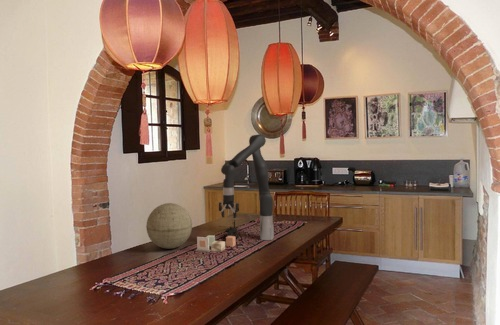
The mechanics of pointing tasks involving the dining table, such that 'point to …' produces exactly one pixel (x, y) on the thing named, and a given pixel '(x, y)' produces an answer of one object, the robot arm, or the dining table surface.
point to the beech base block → (218, 246)
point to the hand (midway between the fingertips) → (228, 217)
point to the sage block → (211, 239)
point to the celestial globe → (169, 225)
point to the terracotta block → (230, 241)
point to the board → (203, 244)
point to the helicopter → (231, 231)
